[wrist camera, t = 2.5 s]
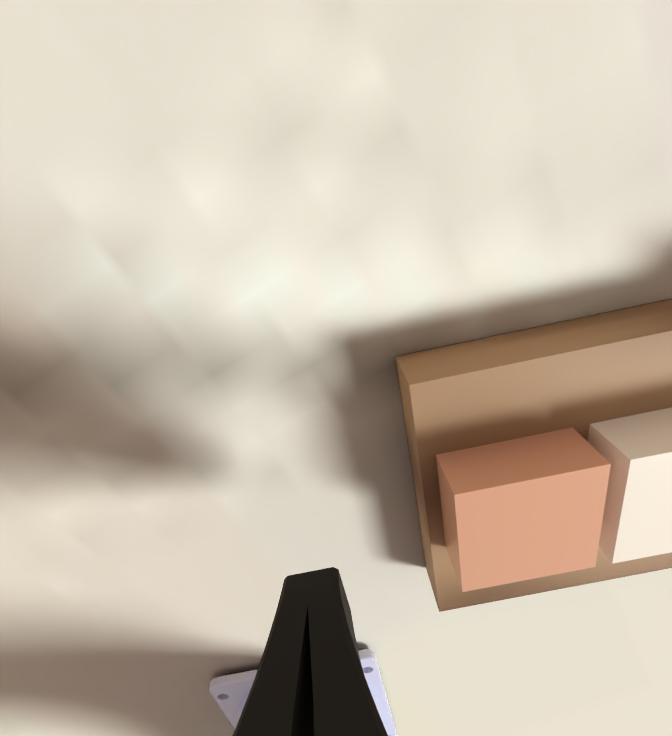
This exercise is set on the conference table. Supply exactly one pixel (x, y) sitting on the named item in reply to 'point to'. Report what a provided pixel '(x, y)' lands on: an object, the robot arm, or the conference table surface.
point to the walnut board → (530, 415)
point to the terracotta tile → (522, 508)
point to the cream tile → (636, 484)
